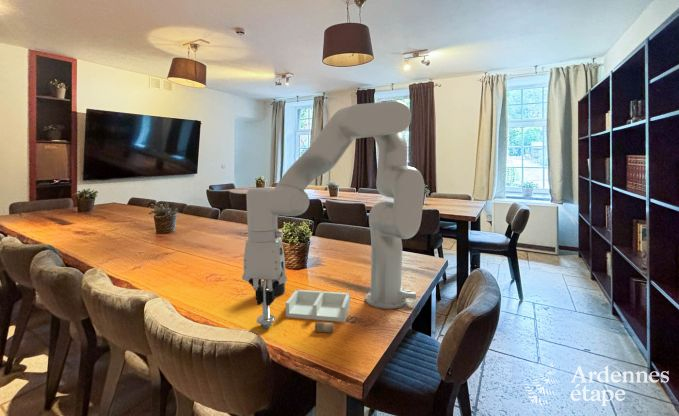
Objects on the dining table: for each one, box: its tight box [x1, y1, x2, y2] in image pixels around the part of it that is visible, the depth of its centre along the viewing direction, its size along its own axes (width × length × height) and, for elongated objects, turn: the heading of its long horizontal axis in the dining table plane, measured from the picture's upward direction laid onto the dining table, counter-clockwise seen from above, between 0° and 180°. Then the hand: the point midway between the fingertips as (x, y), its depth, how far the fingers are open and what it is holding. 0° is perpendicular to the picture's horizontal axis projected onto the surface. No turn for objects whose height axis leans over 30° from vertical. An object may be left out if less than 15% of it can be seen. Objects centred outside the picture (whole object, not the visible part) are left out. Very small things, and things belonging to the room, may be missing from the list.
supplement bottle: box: [266, 278, 286, 297], centre depth 111 cm, size 7×7×12 cm
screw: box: [256, 280, 276, 329], centre depth 89 cm, size 13×5×5 cm
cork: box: [314, 321, 335, 334], centre depth 87 cm, size 4×2×2 cm, turn 80°
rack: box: [285, 289, 351, 323], centre depth 98 cm, size 17×10×4 cm, turn 80°
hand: (265, 302), depth 89 cm, fingers closed on screw, 2 cm apart
